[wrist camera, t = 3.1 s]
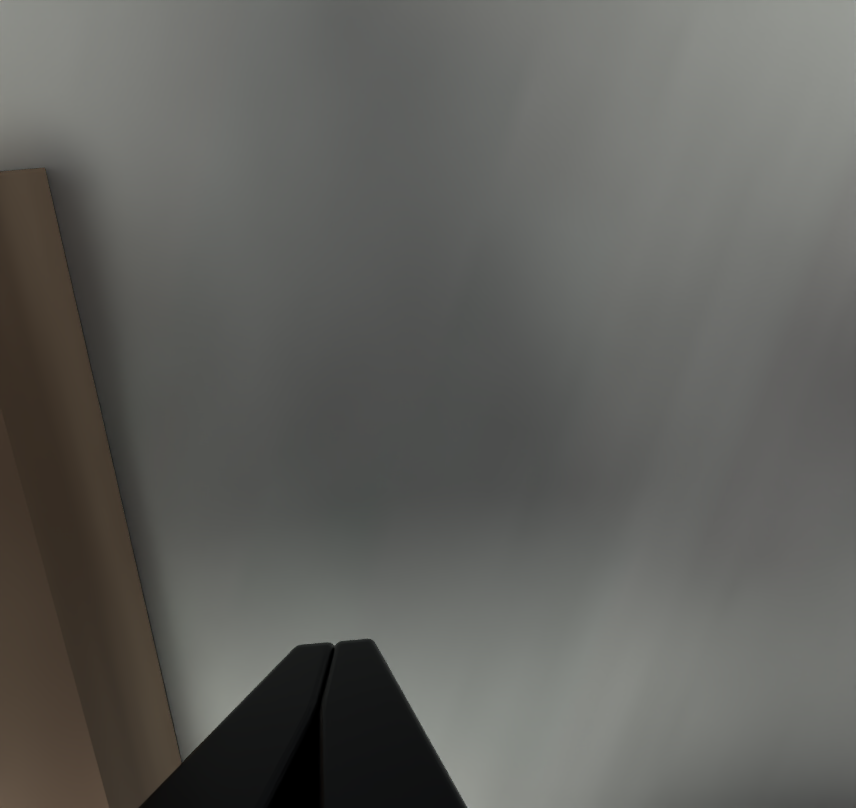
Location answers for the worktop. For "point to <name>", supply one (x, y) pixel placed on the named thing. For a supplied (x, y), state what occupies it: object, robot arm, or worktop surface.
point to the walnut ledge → (65, 550)
